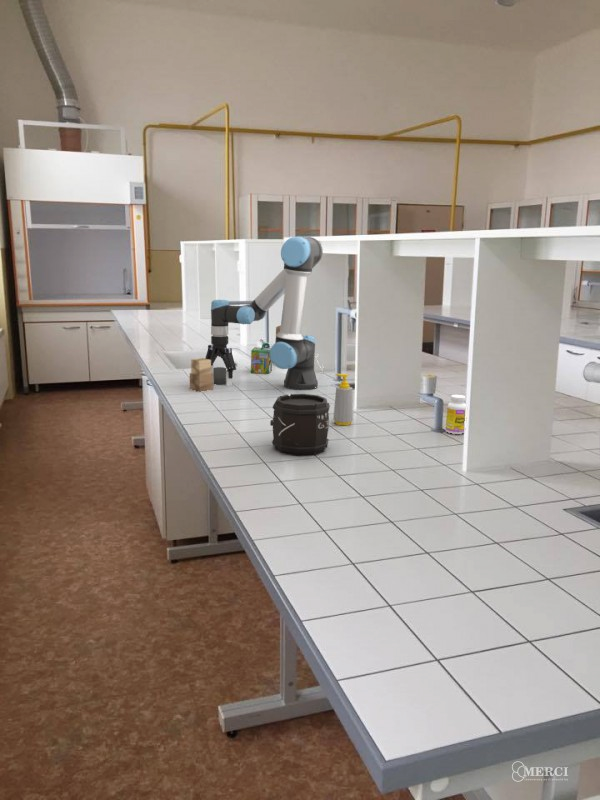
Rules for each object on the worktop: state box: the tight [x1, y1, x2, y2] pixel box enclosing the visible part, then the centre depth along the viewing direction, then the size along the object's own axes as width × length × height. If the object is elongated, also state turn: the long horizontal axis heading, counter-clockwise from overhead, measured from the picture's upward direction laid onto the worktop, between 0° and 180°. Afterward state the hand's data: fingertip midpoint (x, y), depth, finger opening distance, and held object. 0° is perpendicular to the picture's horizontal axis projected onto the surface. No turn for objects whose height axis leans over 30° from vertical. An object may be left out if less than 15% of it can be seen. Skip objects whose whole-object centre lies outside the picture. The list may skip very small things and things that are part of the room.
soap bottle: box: [333, 373, 354, 426], centre depth 238 cm, size 7×7×18 cm
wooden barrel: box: [269, 393, 331, 457], centre depth 208 cm, size 18×18×16 cm
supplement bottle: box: [445, 394, 467, 435], centre depth 231 cm, size 7×7×13 cm
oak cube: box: [190, 357, 211, 376], centre depth 287 cm, size 6×6×6 cm
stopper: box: [213, 366, 227, 386], centre depth 301 cm, size 6×6×7 cm
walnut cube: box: [189, 372, 214, 393], centre depth 288 cm, size 7×7×7 cm
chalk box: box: [250, 341, 273, 375], centre depth 329 cm, size 9×9×15 cm
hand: (219, 383), depth 302 cm, fingers open, 12 cm apart
